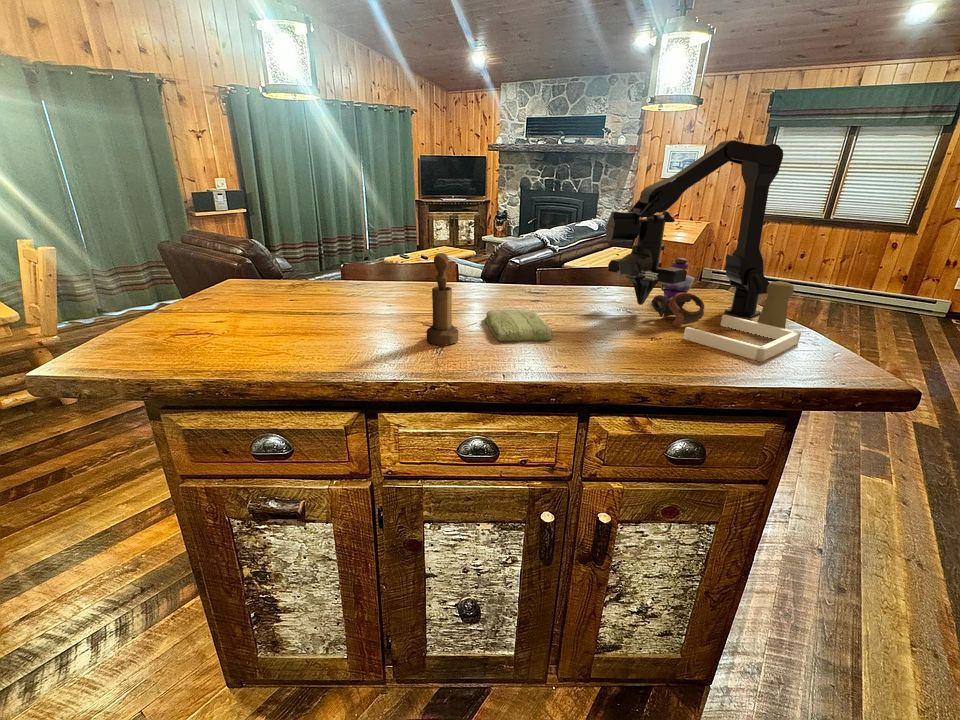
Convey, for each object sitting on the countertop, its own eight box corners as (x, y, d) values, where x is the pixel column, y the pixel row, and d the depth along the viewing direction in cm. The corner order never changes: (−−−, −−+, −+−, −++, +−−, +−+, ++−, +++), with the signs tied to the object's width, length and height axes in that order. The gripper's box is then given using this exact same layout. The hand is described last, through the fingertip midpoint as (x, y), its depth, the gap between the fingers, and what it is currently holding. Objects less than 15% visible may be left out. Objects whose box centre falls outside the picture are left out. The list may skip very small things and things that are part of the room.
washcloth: (535, 318, 115) (536, 306, 114) (555, 343, 99) (556, 329, 98) (482, 320, 113) (482, 307, 112) (494, 345, 97) (494, 330, 96)
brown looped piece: (697, 320, 117) (711, 296, 110) (688, 346, 111) (703, 322, 105) (650, 302, 120) (661, 278, 113) (640, 326, 114) (651, 303, 108)
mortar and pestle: (462, 337, 100) (463, 252, 93) (451, 347, 94) (450, 257, 87) (434, 334, 102) (432, 250, 95) (421, 343, 96) (418, 255, 89)
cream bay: (722, 324, 112) (724, 314, 111) (797, 343, 100) (801, 332, 99) (683, 338, 102) (685, 327, 101) (761, 361, 90) (764, 349, 89)
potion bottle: (654, 296, 136) (661, 255, 131) (685, 298, 135) (693, 256, 130) (661, 304, 128) (668, 260, 123) (694, 306, 127) (702, 261, 122)
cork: (789, 333, 106) (802, 286, 102) (760, 331, 107) (772, 284, 103) (779, 325, 112) (791, 280, 107) (751, 323, 113) (762, 278, 108)
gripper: (596, 239, 115) (590, 301, 121) (665, 249, 101) (654, 318, 107) (625, 236, 121) (617, 295, 127) (692, 245, 107) (681, 310, 113)
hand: (640, 304), depth 118 cm, fingers closed
